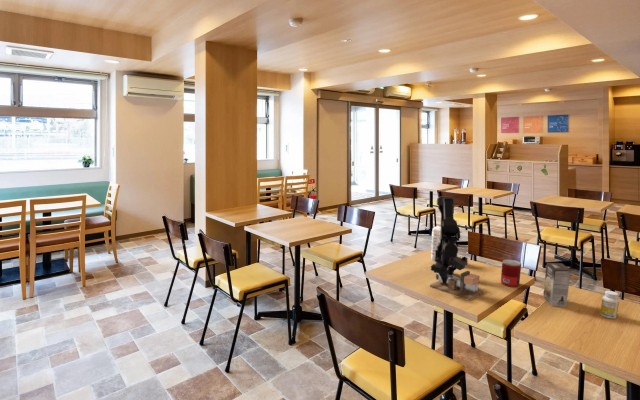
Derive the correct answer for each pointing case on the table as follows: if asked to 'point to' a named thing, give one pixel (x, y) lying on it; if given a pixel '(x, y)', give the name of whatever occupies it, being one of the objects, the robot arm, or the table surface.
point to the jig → (457, 288)
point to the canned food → (510, 273)
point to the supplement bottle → (609, 304)
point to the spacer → (471, 279)
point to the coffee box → (556, 284)
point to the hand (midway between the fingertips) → (446, 282)
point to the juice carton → (435, 241)
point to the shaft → (458, 282)
